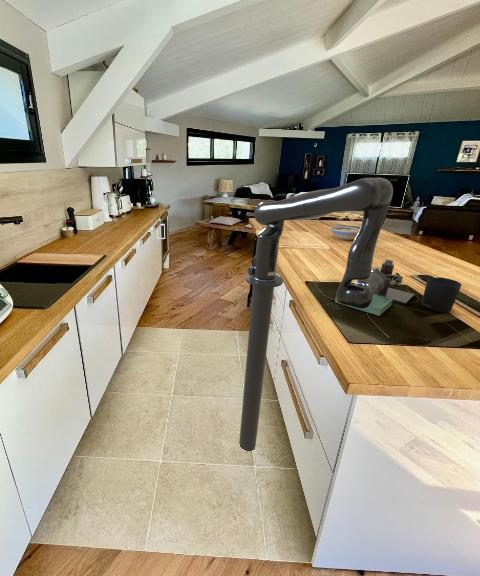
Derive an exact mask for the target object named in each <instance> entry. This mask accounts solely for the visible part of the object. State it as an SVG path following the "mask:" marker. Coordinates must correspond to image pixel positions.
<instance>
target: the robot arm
mask: <svg viewBox="0 0 480 576" xmlns="http://www.w3.org/2000/svg"><path fill="white" fill-rule="evenodd" d="M393 187H394V186H393V184H392V183H391V181H389V179H388V178H387V179H386V178H384V177H364V178H360V179H356V180H354V181H351V182H349V183H346V184H343V185H340V186H337V187H333V188H325V189H318V190H312V191H307V192H303V193H300V194H297V195H293V196H290V197H287V198H284V199H282V200H281V199H280V200H277V201H274V200H273V201H264V202H260V203H259V204H258V205H257V206H256V207H255V209H254V212H253V217H254V219H255V221H256V222H257V224H259V225H262V226H265V227H264V228H263V230H261V231H259V233H257V236H256V249H255V256H253V260H252V265H251V266H248V267H247V269H248V270H247V275H250V276H251V275H252V278H254V279H255V280H257V281H260V282H272V281H275V275H277V274H276V272H277V265H278V258H279V257H278V255H279V247H280V240H281V237H282V235H283V231H284V224H285V221H305V220H306V221H308V220H313V219H319V218H323V217H326V216H328V215H330V214H334V213H341V212H342V213H343V212H363V215H362V220H361V224H360V226H359V227H360V229H359V231H358V233H357V235H356V237H355V239H353V240H352V243H351V245H350V247H349V250H348V253H347V258H346V259H347V260H346V266H345V271H344V274H343V277H342V279H341V282H340V284H339V286H338V287H337V289H336V291H335V299H337V301H338V302H339V303H341V304H340V305H343V304H345V305H344V306H346V305H349V306H352V307H356V308H361V309H363V308H367V307H368V306H369V305H370V304H371V301H372V296H373V295H375V294H377V293H379V292H380V291H381V290H383V289H384V288H385V287H386V286H387V285H389V286H390V285H393V286H394V287H395V288H400V286H401V284H402V281H403V279H404V278H403V276H401V274H400V273H399V272H395V273H394V274H393V273H392V274H384V273H382V272H380V268H374V269H372V267H373V261H374V257H375V256H374V255H375V251H376V246H377V243H378V239H379V236H380V233H381V230H382V227H383V223H384V221H385V218H386V215H387V213H388V209H389V207H390V205H391V202H392V198H393V193H394V188H393ZM353 281H355V282H353ZM339 303H338V304H339ZM349 306H348V307H349ZM352 307H351V308H352ZM356 308H355V309H356Z"/></svg>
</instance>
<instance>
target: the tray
mask: <svg viewBox="0 0 480 576" xmlns="http://www.w3.org/2000/svg"><path fill="white" fill-rule="evenodd" d="M392 300H393V299H391V298H387V297H383V296H380V295H376V294H375V295H373V296H372V301H371V304H370V305H369V306H368V307H367V308H363V309H361V308H356V307H352V306H349V305H345V304H341V303H339V302H338V301H337V299H336V298H335V300H334V303H337V304H340V305H343V306H347V307H349V308H353V309H356V310H360V311H363V312H366V313H368V314H372V315H375V316H378V317H379V316H381V315H382V314H384V313H385V312H386V311H388V309H389V308H390V307H391V306H392V304H393V302H392Z"/></svg>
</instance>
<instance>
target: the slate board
mask: <svg viewBox="0 0 480 576" xmlns="http://www.w3.org/2000/svg"><path fill="white" fill-rule="evenodd" d="M376 295H380V296H383V297H387V298H391V299H393V300H392V303H395V304H397V305H402V306H406V305H407V304H408V303H409V302H410V301H411V300H412V299H413V298H414V297H415V293H411V292H408V291H404V290H399V289H395V288H391V287H388V291H387V293H381V292H379V293H377V294H376Z"/></svg>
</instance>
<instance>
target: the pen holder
mask: <svg viewBox="0 0 480 576" xmlns="http://www.w3.org/2000/svg"><path fill="white" fill-rule="evenodd" d="M461 288H462V283H461V282H459V281H457V280H455V279H451V278H447V277H438V276H437V277H434V278H431V279H430V278H427V280H426V284H425V287H424V291H423V294H422V299H421V306H422V307H423V308H424V309H426V310H429V311H432V312H436V313H442V314H443V313H445V314H446V313H449V312H451V311H452V309H453V307H454V305H455V302H456V300H457V299H458V298H457V297H458V295H459V293H460V290H461Z"/></svg>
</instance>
